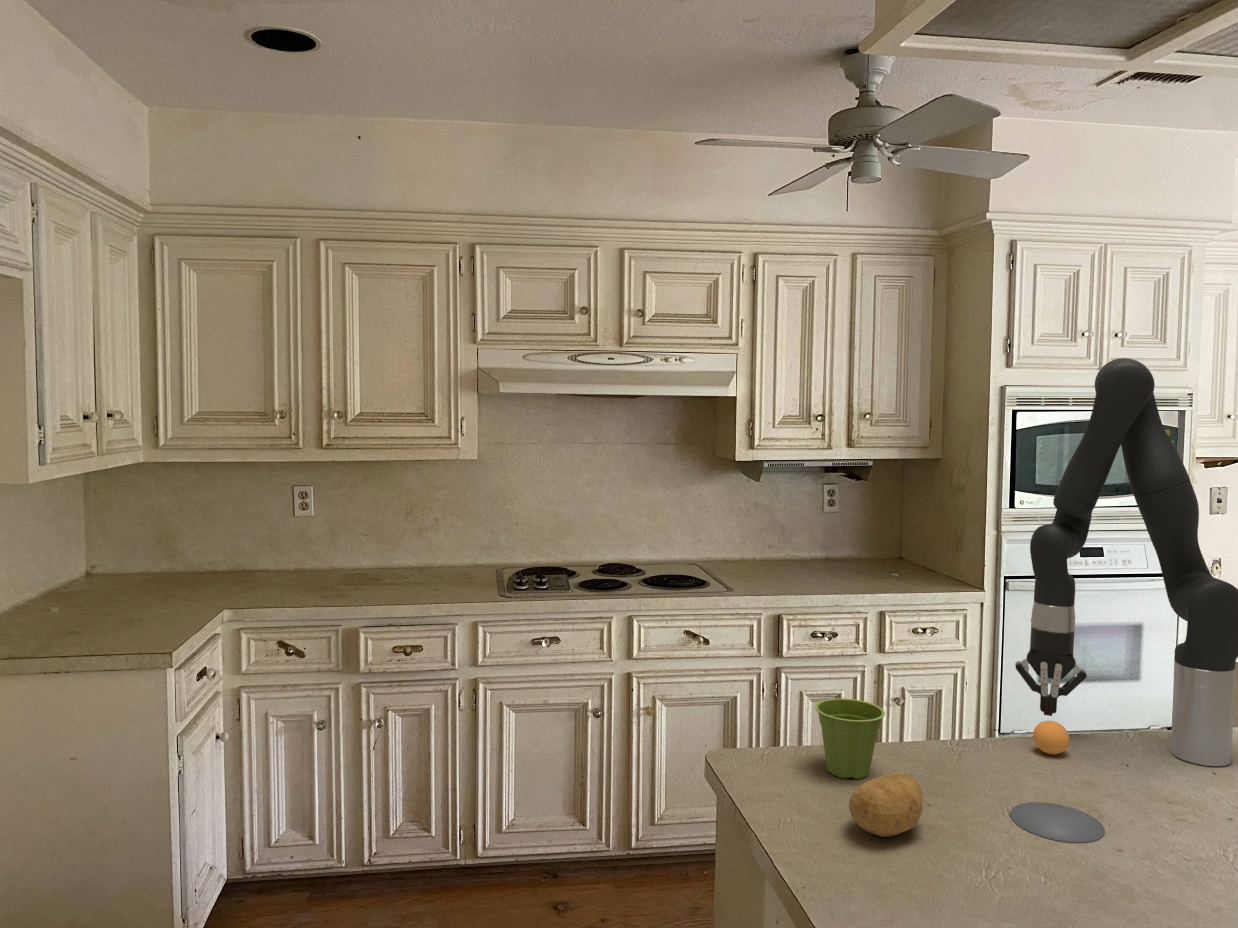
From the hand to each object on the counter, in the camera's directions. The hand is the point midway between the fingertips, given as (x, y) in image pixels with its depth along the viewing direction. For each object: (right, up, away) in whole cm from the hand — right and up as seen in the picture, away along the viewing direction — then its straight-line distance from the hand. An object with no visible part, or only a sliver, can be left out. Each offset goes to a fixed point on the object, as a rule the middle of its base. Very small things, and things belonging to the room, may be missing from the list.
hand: (1048, 714), depth 169 cm
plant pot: (-43, -6, -16) cm, 46 cm away
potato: (-43, -7, -37) cm, 57 cm away
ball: (-3, -2, -8) cm, 9 cm away
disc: (-16, -7, -35) cm, 39 cm away
